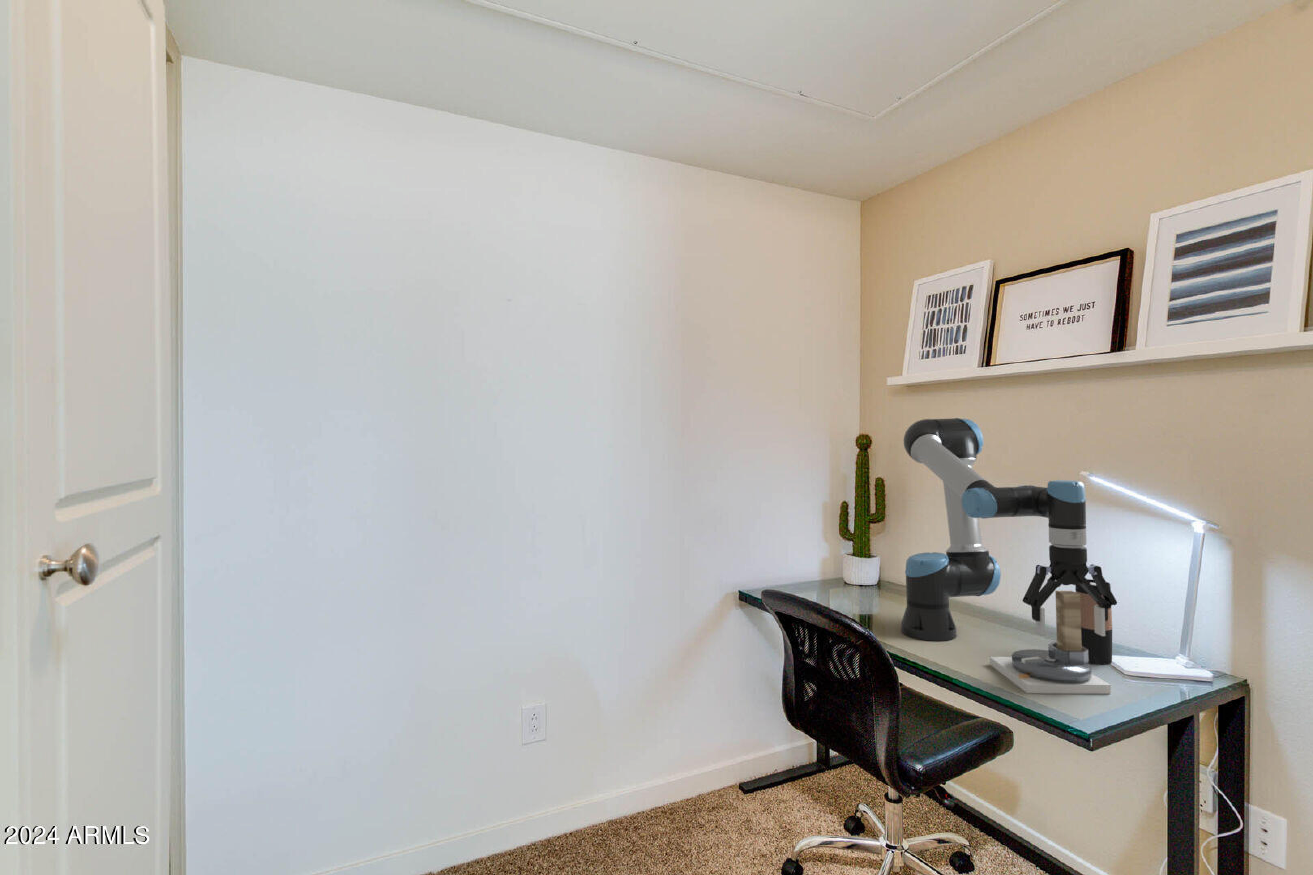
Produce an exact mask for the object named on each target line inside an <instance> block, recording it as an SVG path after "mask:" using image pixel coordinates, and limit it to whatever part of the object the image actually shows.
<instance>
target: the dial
mask: <svg viewBox="0 0 1313 875" xmlns="http://www.w3.org/2000/svg"><path fill="white" fill-rule="evenodd" d="M1047 646H1048V650H1047V649H1037V648H1036V649H1034V648H1033V649H1032V648H1031V649H1028V648H1027V649H1020V650H1016V651H1014V652H1012V654H1011V657H1012V665H1013V667H1014V668H1015V669H1017V670H1019V671H1020V672H1023V673H1025V674H1028V675H1031V676H1034V677H1038V678H1042V679H1047V680H1053V681H1061V682H1080V681H1086V680H1088V679H1090V678H1091V677H1092V674H1093V671H1092V667H1093V666H1092V665H1091V663H1089V659H1088V649H1087V648H1085V647H1083V646H1082V651H1066V650H1062V649H1058V648H1057V641H1053V642H1051V643H1049V644H1048V645H1047Z"/></svg>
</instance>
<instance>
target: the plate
mask: <svg viewBox="0 0 1313 875" xmlns="http://www.w3.org/2000/svg"><path fill="white" fill-rule="evenodd" d="M989 665H990V666H991V667H992V668H994V669H995V670H996V671H997V672H999V673H1000V674H1001V675H1003V676H1004V677H1006V678H1007V679H1008V680H1009V681H1011V682H1012V683H1013V684H1014V685H1015V686H1017V687H1018V688H1020V689H1021V690H1022V691H1024V692H1025V693H1026V694H1065V695H1066V694H1068V695H1070V694H1073V695H1074V694H1077V695H1079V694H1080V695H1081V694H1085V695H1091V694H1093V695H1096V694H1097V695H1101V694H1102V695H1111V694H1112V691H1111V688H1112V687H1111V684H1109V683H1108V682H1106V681H1104V680H1103V679H1101V678H1099V677H1098V676H1096V675H1095V674H1093V673H1092V677H1091V678H1090V679H1088V680H1086V681H1080V682H1061V681H1053V680H1047V679H1042V678H1038V677H1034V676H1031V675H1028V674H1025V673H1023V672H1020V671H1019V670H1017V669H1015V668H1014V667H1013V665H1012V656H990V657H989Z"/></svg>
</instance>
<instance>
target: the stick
mask: <svg viewBox="0 0 1313 875" xmlns="http://www.w3.org/2000/svg"><path fill="white" fill-rule="evenodd" d="M1054 592H1055V619H1056V620H1055V623H1056V642H1057V648H1058V649H1062V650H1066V651H1082V643H1081V607H1080V594H1078V593H1076V591H1074V590H1073V591H1072V590H1055V591H1054Z"/></svg>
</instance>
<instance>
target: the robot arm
mask: <svg viewBox="0 0 1313 875" xmlns="http://www.w3.org/2000/svg"><path fill="white" fill-rule="evenodd" d="M903 446H904V450H905V451H906V453H907V454H908V456H909V457H910V458H911V459H912V460H913V461H915V462H916V463H919V464H923V465H924V466H925V467H927V469H928V470H930V472H932V473H933V474H934V475H935V476H937V477H938V478H939V479H940V480H941V481H942V482H943V491H944V499H945V500H944V501H945V508H946V509H945V510H946V516H947V517H946V518H947V525H948V534H949V541H950V542H949V544H950V546H949V547H948V548H947V549H946V550H945V553H943V552H936V551H935V552H934V551H932V552H921V553H915V554H912V555H910V556H908V558H907V559H906V562H905V570H904V572H905V573H904V574H905V583H906V584H905V588H906V593H905V594H906V608H905V610H904V613H903V616H902V619H901V623H900V629H901V630H900V631H901V633H903V635H905V636H908V637H909V638H910V637H911V638H914V639H918V640H924V641H936V642H939V641H940V642H941V641H942V642H943V641H950V640H953V639H956V638H957V635H958V634H957V626H956V624H955V620H954V619H953V616H952V612H951V610H950V598H955V597H956V598H958V597H961V598H963V597H981V596H987V595H991V594H993V593H994V592H995V591H996V590H997V588H998V587H999V586H1000V583H1001V574H1002V573H1001V572H1002V571H1001V568H1000V564H999V563H998V562H997V559H996V558H994V556H992V555H990V552H989V549H988V548H987V547H986V546H984V545H983V541H982V535H981V527H980V526H981V525H980V519H991V518H992V519H993V518H1012V517H1013V518H1015V517H1019V518H1021V517H1039V518H1047V519H1048V543H1050V544H1051V545H1049V546H1048V552H1049V554H1048V555H1049V563H1050V564H1049V566H1044V565H1040V564H1036V566H1035V572H1034V573H1035V574H1034V575H1033V578H1032V580H1031V582H1030V584H1029V586H1028V587H1027V589H1026V592H1025V594H1024V596H1023V597H1022V603H1024V604H1026V605H1028V606H1031V619H1032V620H1033V621H1035V633H1036V634H1037V635H1039V636H1041V637H1046V615H1045V614H1046V613H1045V609H1046V608H1044V607H1042V606H1043V605H1044V604H1045V603H1046V602H1047V600H1048V599H1049V598H1050V597H1051V595H1052V594H1053V593H1054V592H1055V591H1057V590H1056V589H1058V588H1060V587H1061V585H1063V586H1070V585H1072V586H1075V585H1078V584H1079V585H1081V586H1082V588H1083V589H1084V590H1085V591H1086V592H1087V593H1088V594H1089V595H1090V596H1091V597H1092V598H1093V600H1094V601H1095V602H1096V603H1097V604H1098V605H1099V606H1094V623H1095V633H1097V634H1099V635H1101V636H1105V621H1108V609H1110V608H1111V609H1112V606H1116V605H1117V604H1118V601H1117V599H1116V598H1115V596H1114V594H1113V592H1112V589H1111V590H1110V588H1109V587H1108V585H1107V583H1106V582H1107V581H1106V579H1105V577H1104V576H1103V570H1102V567H1101V566H1099V565H1095V564H1090V565H1087V563H1088V548H1086V547H1085V546H1086V545H1087V516H1086V513H1087V512H1086V511H1087V510H1086V508H1087V506H1086V505H1087V504H1086V501H1087V497H1086V490H1085V484H1084V482H1081V481H1079V480H1066V479H1065V480H1063V479H1062V480H1059V479H1058V480H1049V481H1048V483H1047V487H1044V486H1035V485H1018V486H1011V487H1010V486H1009V487H1008V486H1006V487H1005V486H1004V487H1002V486H1001V487H1000V486H999V487H996V486H994V485H993V484H992V483H991V482H989V481H988V480H987V479H985V478H984V477H983V476H982V475H980V473H978V472H977V471H976V470H974V469H973V465H974V464H975V462H977V458H978V457H977V455H979V454H980V453H981V452H982V450H983V447H984V436H983V432H982V430H981V428H980V427H979V425H978V424H977V423H975V421H973V420H971V419H968V418H960V417H959V418H958V417H957V418H935V419H934V418H923V419H920V420H918V421H916V422H913V423H912V424H911V425H909V427H908V428H907V430H906V431H905V434H904V436H903ZM979 518H980V519H979ZM1049 573H1050V575H1051V576H1050V577H1049V578H1047V576H1049ZM1088 574H1089V575H1091V578H1092V580H1094V582H1095V583H1096V585H1097V587H1098V589H1099V591H1100V592H1101V594H1102V596H1103V597H1102V596H1101V595H1100V594H1099V593H1098V592H1097V591H1096V590H1095V589H1094V587H1093V586H1092V585H1091V583H1090V582H1089V581H1088V580H1087V579H1088V578H1086V576H1087V575H1088ZM1046 578H1047V581H1046ZM1045 581H1046V583H1044V582H1045ZM1043 584H1044V585H1043Z"/></svg>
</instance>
